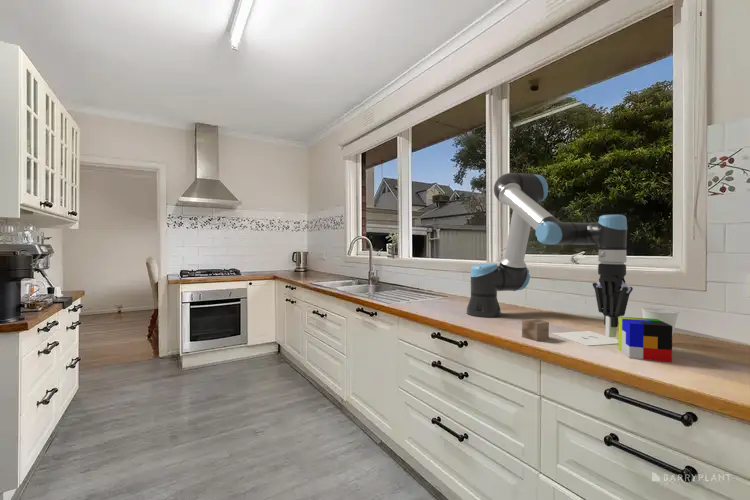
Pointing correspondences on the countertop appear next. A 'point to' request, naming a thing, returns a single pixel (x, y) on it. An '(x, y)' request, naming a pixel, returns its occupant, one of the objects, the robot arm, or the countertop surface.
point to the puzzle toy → (645, 339)
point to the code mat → (588, 338)
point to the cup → (661, 315)
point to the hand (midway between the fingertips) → (610, 336)
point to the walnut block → (535, 329)
